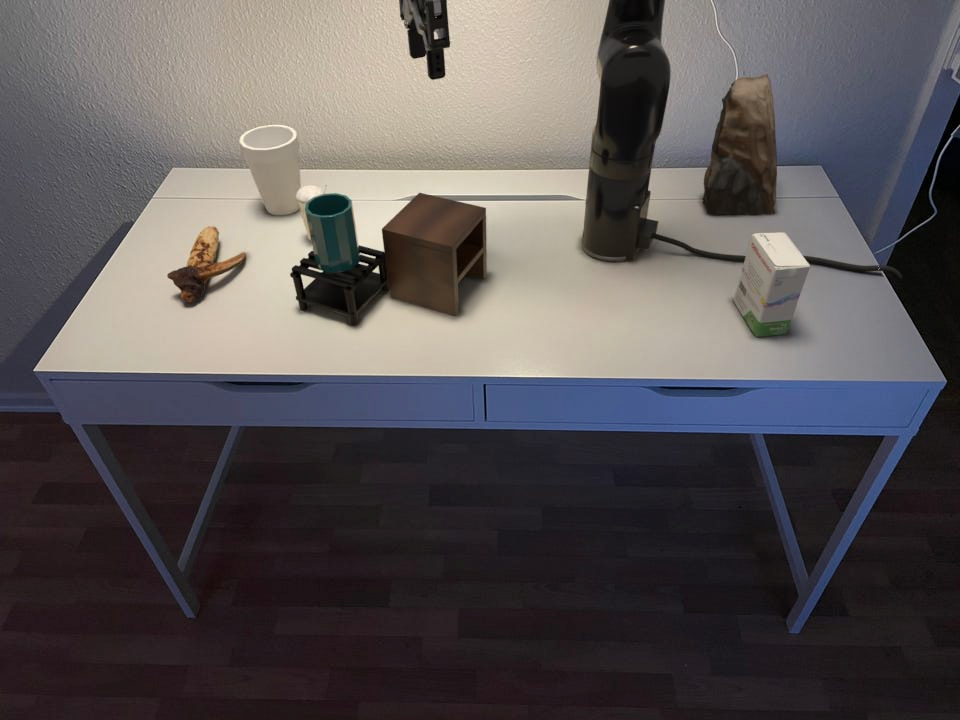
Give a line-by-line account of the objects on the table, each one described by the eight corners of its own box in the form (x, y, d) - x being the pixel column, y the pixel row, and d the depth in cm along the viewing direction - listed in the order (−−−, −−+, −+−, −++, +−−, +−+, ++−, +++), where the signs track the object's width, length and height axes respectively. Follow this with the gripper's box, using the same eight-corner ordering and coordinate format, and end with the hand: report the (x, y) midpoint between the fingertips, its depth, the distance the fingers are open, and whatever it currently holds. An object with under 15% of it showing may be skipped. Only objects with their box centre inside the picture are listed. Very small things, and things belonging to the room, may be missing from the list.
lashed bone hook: (232, 307, 108) (253, 238, 121) (225, 282, 104) (247, 214, 117) (168, 308, 107) (196, 239, 120) (159, 283, 104) (189, 215, 117)
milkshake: (331, 246, 119) (321, 192, 112) (300, 243, 119) (288, 189, 113) (340, 231, 122) (331, 178, 115) (310, 228, 123) (299, 175, 116)
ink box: (788, 334, 100) (813, 265, 92) (753, 337, 100) (776, 268, 92) (763, 297, 107) (785, 229, 99) (731, 300, 106) (750, 232, 98)
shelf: (487, 275, 112) (486, 207, 104) (455, 316, 105) (451, 246, 96) (424, 259, 115) (419, 192, 107) (390, 297, 108) (381, 228, 100)
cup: (368, 253, 104) (360, 198, 98) (344, 276, 100) (334, 220, 94) (332, 244, 106) (322, 189, 100) (307, 266, 102) (296, 211, 96)
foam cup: (321, 201, 129) (308, 132, 121) (285, 225, 124) (269, 155, 115) (282, 188, 133) (267, 120, 124) (246, 210, 128) (227, 141, 119)
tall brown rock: (701, 216, 123) (726, 102, 110) (685, 180, 133) (706, 71, 119) (775, 215, 123) (809, 100, 110) (753, 179, 133) (782, 69, 119)
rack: (391, 288, 110) (386, 249, 105) (355, 326, 103) (348, 287, 98) (336, 273, 113) (328, 235, 108) (298, 309, 106) (289, 270, 102)
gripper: (464, -60, 83) (471, 81, 94) (427, -83, 93) (437, 46, 104) (402, -51, 81) (416, 91, 92) (371, -76, 91) (387, 54, 102)
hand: (427, 67), depth 98 cm, fingers open, 8 cm apart
